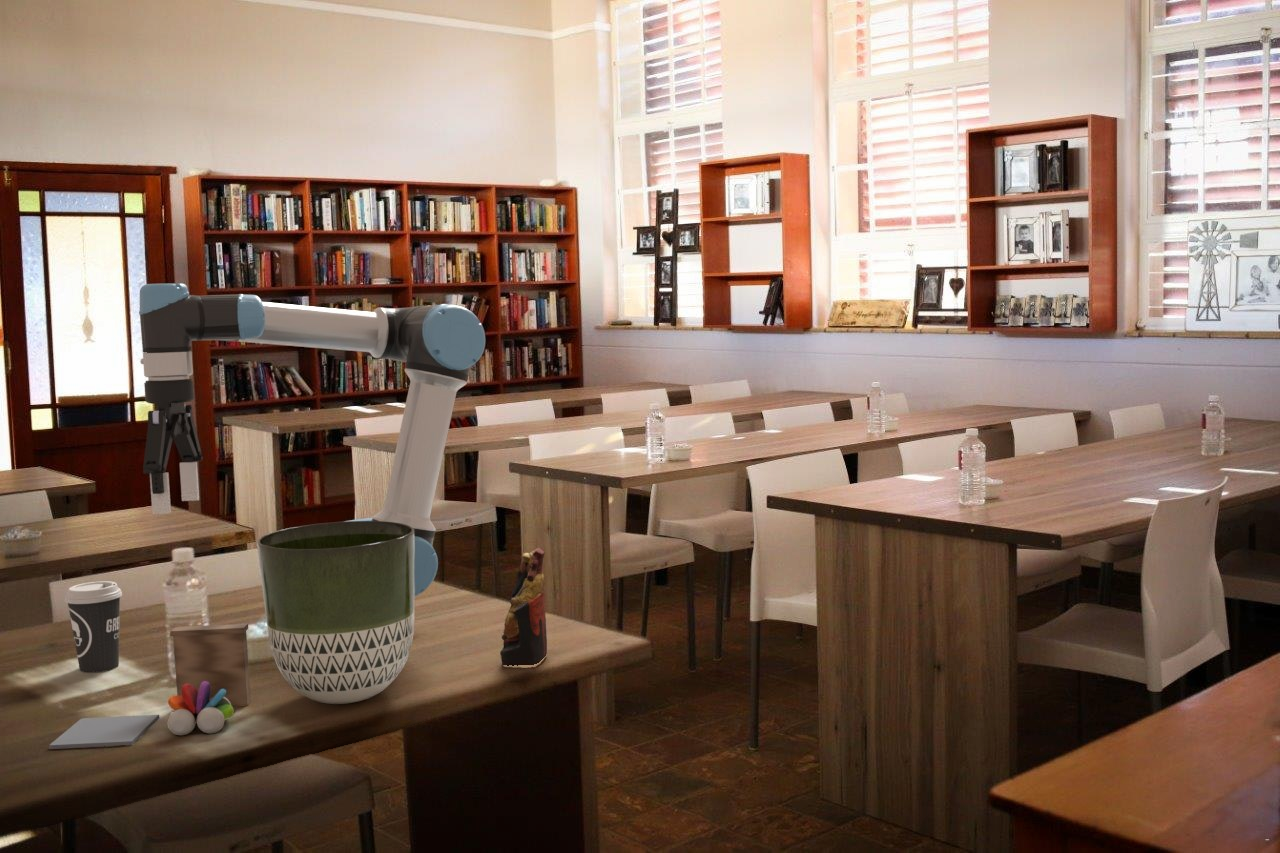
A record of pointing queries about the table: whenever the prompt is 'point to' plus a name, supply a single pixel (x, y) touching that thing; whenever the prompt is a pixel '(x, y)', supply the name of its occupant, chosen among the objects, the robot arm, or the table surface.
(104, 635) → the coffee cup
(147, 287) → the robot arm
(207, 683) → the rainbow petal cluster
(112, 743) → the pad
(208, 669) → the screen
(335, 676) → the planter
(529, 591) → the statue
